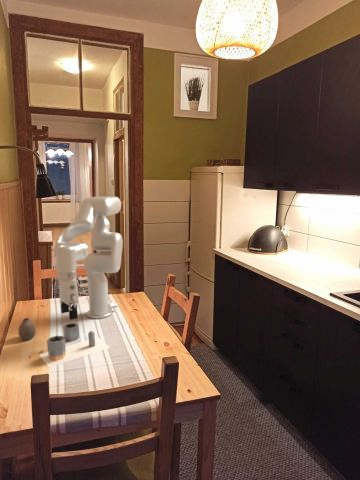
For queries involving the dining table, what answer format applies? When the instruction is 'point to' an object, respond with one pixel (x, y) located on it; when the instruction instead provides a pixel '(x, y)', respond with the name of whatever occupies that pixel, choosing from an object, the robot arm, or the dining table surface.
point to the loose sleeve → (71, 331)
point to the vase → (26, 329)
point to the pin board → (78, 350)
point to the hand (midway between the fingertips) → (69, 315)
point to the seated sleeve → (56, 348)
